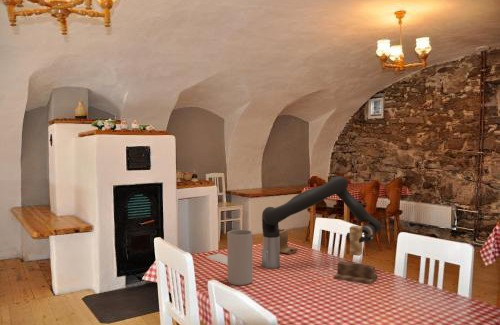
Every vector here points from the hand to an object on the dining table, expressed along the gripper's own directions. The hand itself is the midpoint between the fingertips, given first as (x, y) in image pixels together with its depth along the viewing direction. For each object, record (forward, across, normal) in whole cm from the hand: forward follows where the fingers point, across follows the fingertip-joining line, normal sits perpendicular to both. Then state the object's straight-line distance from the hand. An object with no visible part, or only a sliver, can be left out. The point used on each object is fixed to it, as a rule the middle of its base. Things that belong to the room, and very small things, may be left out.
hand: (354, 240), depth 226 cm
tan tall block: (-3, 0, +8) cm, 8 cm away
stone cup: (-32, -56, +21) cm, 67 cm away
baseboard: (+3, -75, +21) cm, 78 cm away
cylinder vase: (+31, -49, +20) cm, 61 cm away
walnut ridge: (-2, 0, +20) cm, 20 cm away
